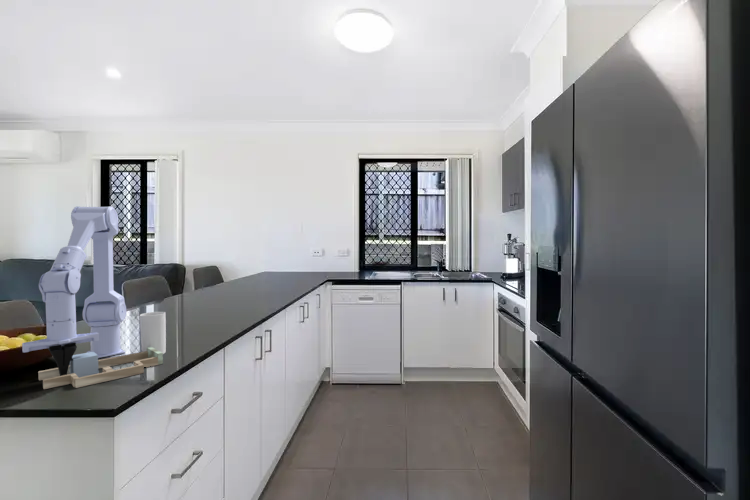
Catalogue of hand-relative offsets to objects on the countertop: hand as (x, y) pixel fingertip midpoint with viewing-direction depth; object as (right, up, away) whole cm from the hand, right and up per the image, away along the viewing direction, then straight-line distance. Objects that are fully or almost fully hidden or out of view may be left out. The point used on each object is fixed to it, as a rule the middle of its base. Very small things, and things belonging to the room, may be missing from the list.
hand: (63, 375), depth 98 cm
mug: (+10, -1, +23) cm, 25 cm away
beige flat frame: (+8, -1, +4) cm, 9 cm away
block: (+3, -1, +3) cm, 4 cm away
